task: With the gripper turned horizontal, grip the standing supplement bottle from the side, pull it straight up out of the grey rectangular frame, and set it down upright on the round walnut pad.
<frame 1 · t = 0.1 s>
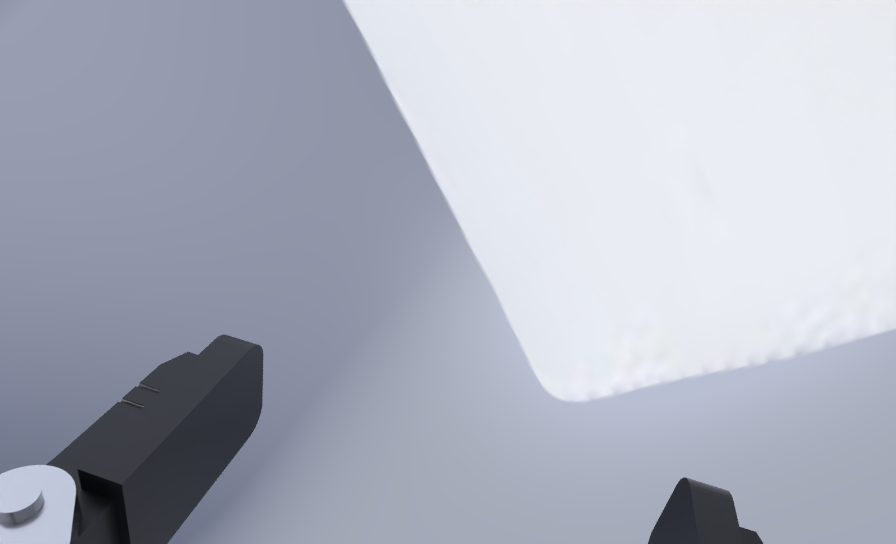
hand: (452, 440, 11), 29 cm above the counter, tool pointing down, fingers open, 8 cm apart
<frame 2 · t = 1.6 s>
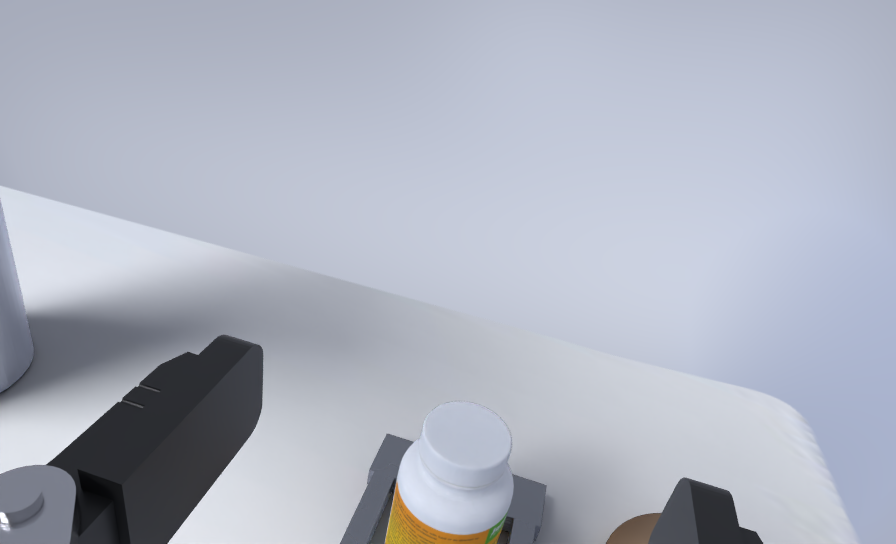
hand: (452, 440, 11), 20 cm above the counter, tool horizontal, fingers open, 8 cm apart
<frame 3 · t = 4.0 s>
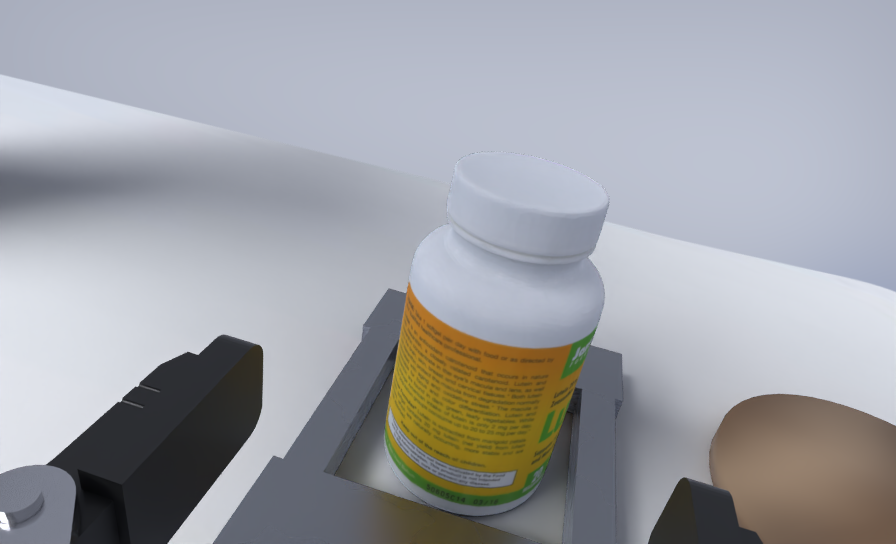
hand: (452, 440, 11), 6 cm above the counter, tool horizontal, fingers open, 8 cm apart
walnut pad: (876, 524, 20), on the counter
grey rectangular frame: (463, 451, 20), on the counter
supplement bottle: (462, 456, 20), resting in grey rectangular frame
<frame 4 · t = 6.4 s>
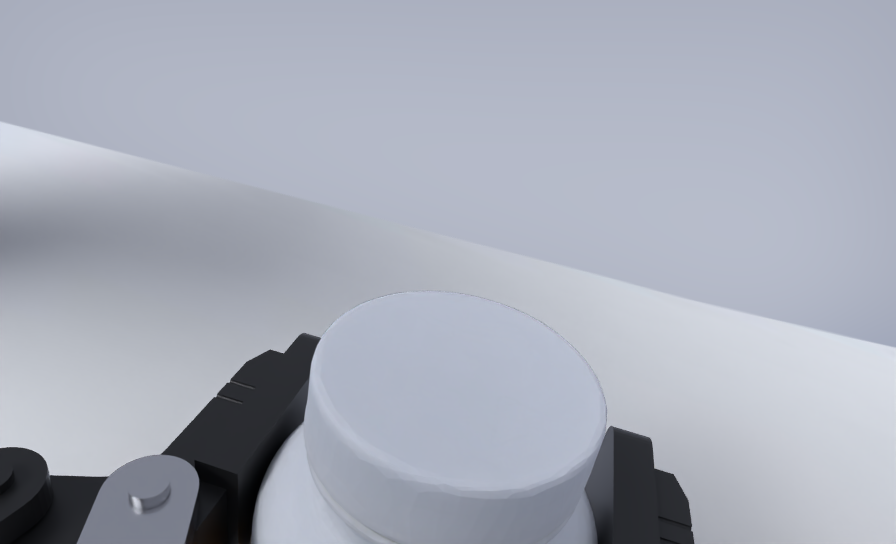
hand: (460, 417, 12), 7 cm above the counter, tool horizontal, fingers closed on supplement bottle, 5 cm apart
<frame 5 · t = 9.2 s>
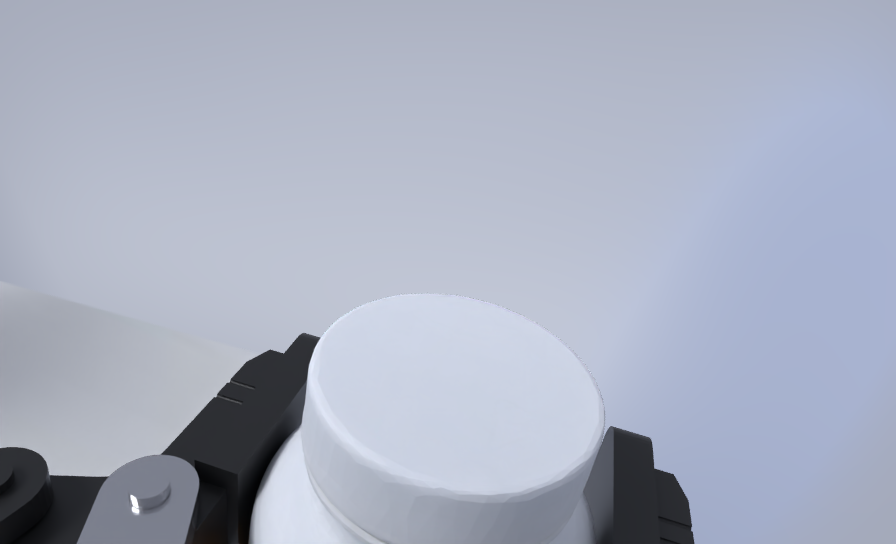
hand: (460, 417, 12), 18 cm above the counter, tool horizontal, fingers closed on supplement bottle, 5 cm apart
when the fingers open (8 cm above the counter, at t = 11.9 s): supplement bottle drops 1 cm, resting on walnut pad.
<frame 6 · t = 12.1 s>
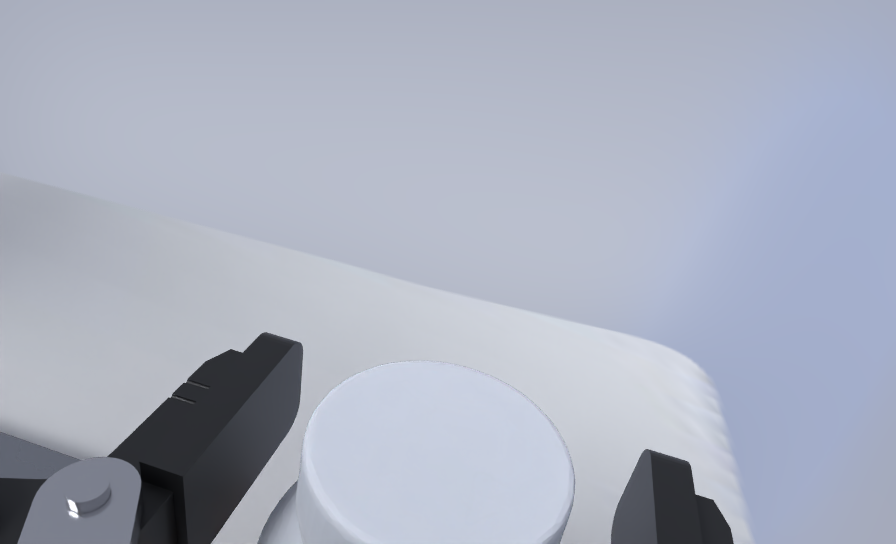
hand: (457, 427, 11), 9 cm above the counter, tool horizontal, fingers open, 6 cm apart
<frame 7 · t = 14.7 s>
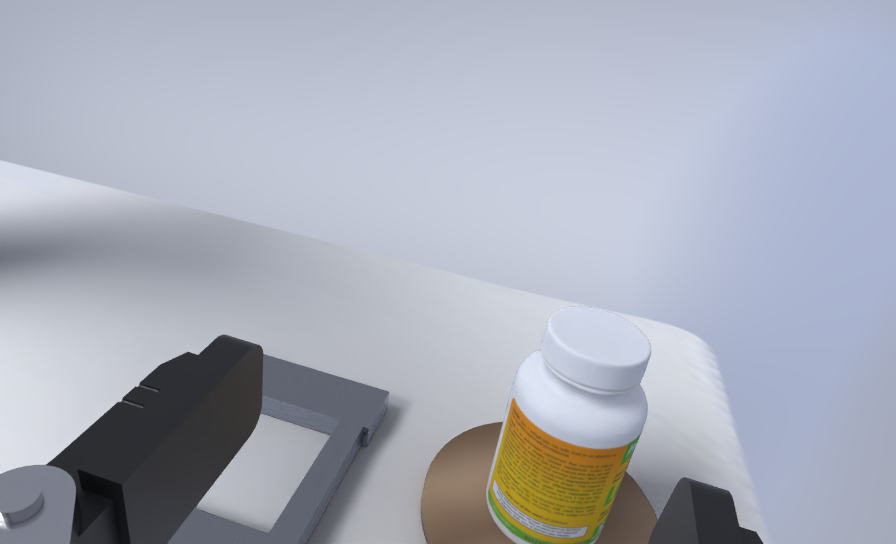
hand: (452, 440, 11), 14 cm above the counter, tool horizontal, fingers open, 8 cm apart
walnut pad: (538, 518, 28), on the counter
grey rectangular frame: (238, 465, 27), on the counter
supplement bottle: (541, 511, 27), point 1 cm above the counter, touching walnut pad
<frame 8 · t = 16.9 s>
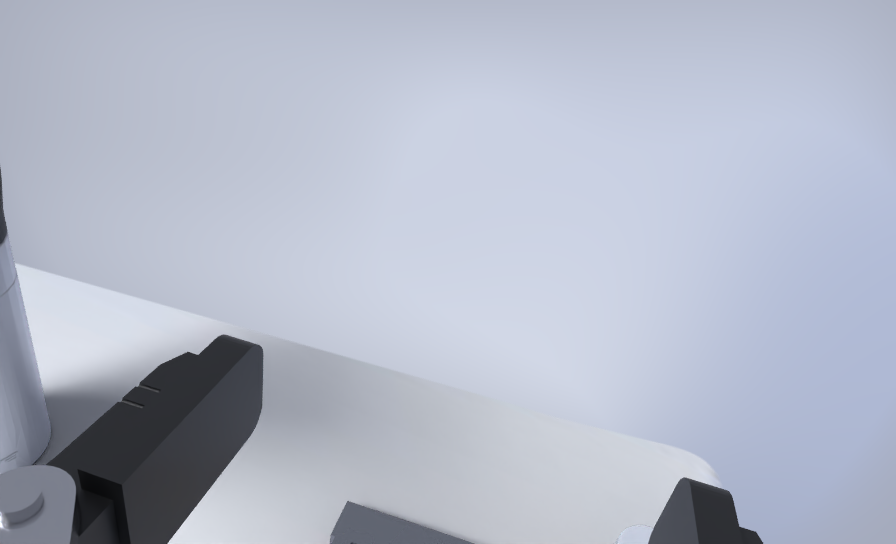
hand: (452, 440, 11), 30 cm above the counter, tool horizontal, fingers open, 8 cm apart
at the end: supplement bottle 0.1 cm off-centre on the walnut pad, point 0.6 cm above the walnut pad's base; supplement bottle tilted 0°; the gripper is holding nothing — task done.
